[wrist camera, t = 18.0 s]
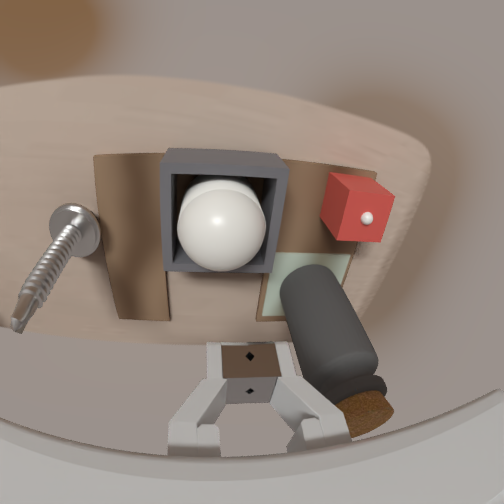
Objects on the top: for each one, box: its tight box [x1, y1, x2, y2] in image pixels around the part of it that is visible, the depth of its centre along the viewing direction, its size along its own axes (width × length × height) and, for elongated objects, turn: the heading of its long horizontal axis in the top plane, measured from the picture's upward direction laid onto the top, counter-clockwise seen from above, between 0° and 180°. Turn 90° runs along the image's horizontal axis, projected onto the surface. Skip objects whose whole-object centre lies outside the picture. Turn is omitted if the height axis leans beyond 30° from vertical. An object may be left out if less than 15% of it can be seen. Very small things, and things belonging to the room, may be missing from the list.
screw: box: [10, 203, 101, 334], centre depth 17 cm, size 13×5×5 cm
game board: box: [93, 153, 377, 322], centre depth 26 cm, size 23×17×1 cm
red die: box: [320, 172, 395, 242], centre depth 22 cm, size 4×4×4 cm
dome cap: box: [177, 174, 266, 271], centre depth 19 cm, size 6×6×6 cm
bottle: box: [280, 264, 394, 438], centre depth 22 cm, size 6×6×15 cm
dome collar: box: [160, 148, 290, 273], centre depth 21 cm, size 8×8×4 cm
